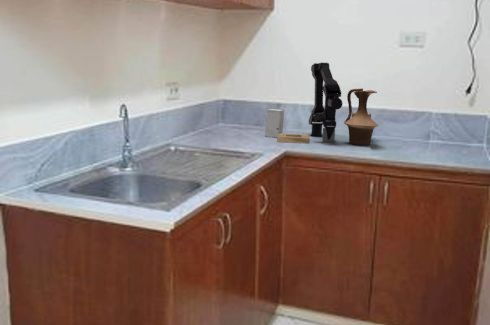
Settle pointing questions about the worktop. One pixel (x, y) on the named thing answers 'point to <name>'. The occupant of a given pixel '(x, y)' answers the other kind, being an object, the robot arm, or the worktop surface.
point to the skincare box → (274, 122)
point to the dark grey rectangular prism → (325, 139)
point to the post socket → (293, 138)
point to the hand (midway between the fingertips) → (328, 138)
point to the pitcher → (360, 119)
